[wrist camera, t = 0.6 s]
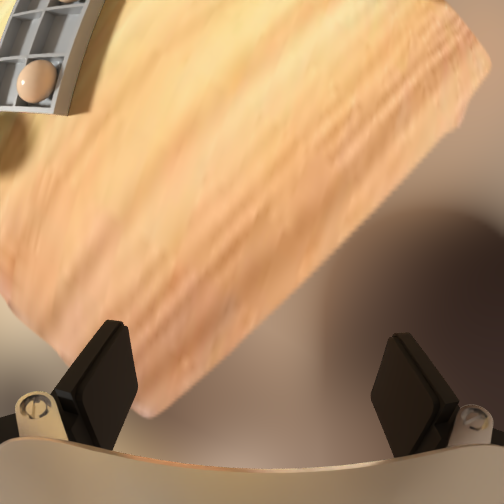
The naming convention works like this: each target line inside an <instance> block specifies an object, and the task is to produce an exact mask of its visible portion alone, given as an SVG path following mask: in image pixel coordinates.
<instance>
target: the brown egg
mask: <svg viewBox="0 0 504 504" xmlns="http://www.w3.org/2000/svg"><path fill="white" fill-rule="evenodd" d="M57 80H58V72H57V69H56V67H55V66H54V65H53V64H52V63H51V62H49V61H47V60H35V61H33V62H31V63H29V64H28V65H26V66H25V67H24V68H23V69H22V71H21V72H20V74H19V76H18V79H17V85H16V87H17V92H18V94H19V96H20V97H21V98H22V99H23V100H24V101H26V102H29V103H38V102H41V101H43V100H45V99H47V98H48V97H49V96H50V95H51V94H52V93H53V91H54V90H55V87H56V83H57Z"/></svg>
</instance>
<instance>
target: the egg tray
mask: <svg viewBox="0 0 504 504" xmlns="http://www.w3.org/2000/svg"><path fill="white" fill-rule="evenodd" d="M104 2H105V0H79V1H77V2H74V3H64V2H61V1H59V0H17V1H16V3H15V5H14V8H13V10H12V12H11V15H10V17H9V19H8V22H7V24H6V27H5V30H4V32H3V35H2V38H1V41H0V112H22V113H38V114H51V115H62V116H68V112H69V108H70V103H71V99H72V96H73V92H74V88H75V84H76V81H77V77H78V74H79V71H80V67H81V64H82V61H83V58H84V55H85V52H86V49H87V46H88V43H89V40H90V37H91V35H92V32H93V29H94V27H95V24H96V21H97V19H98V16H99V14H100V12H101V9H102V7H103V4H104ZM35 60H47V61H49V62H51V63H52V64H53V65H54V66H55V67H56V69H57V72H58V80H57V83H56V87H55V90H54V91H53V93H52V94H51V95H50V96H49V97H48V98H47V99H45V100H43V101H41V102H38V103H29V102H26V101H24V100H23V99H22V98H21V97H20V96H19V94H18V92H17V87H16V85H17V79H18V76H19V74H20V72H21V71H22V69H23V68H24V67H25V66H26V65H28V64H29V63H31V62H33V61H35Z"/></svg>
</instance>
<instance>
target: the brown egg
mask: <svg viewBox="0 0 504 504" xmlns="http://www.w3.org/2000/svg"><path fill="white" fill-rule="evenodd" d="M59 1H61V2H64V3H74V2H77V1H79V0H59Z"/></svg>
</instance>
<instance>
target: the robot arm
mask: <svg viewBox="0 0 504 504" xmlns="http://www.w3.org/2000/svg"><path fill="white" fill-rule="evenodd" d="M137 390H138V382H137V377H136V372H135V366H134V361H133V355H132V349H131V343H130V337H129V330H128V327H127V326H124V324H123V322H122V321H114V320H106V321H105V322H104V324H103V325H102V326H101V327H100V329H99V330H98V331H97V333H96V334H95V335H94V336H93V338H92V339H91V340H90V342H89V343H88V344H87V345H86V347H85V348H84V349H83V351H82V352H81V353H80V355H79V356H78V357H77V359H76V360H75V361H74V363H73V364H72V365H71V367H70V368H69V369H68V371H67V372H66V374H65V375H64V376H63V377H62V379H61V380H60V382H59V383H58V384H57V386H56V387H55V388H54V390H53V391H52V393H51V394H48V393H46V392H42V391H35V392H30V393H27V394H25V395H24V396H22V397H21V398H20V399H19V400H18V402H17V404H16V407H15V412H16V413H15V414H12V415H8V416H5V417H1V418H0V504H504V432H502V431H499V430H496V429H494V428H493V419H492V417H491V415H490V414H489V412H488V411H487V410H485V409H484V408H482V407H480V406H476V405H466V406H463V407H462V408H460V407H459V406H458V403H459V400H458V398H457V397H456V395H455V394H454V393H453V391H452V390H451V388H450V387H449V385H448V384H447V382H446V381H445V380H444V378H443V377H442V376H441V374H440V373H439V371H438V370H437V369H436V367H435V366H434V365H433V363H432V362H431V361H430V359H429V358H428V356H427V355H426V354H425V352H424V351H423V350H422V348H421V347H420V346H419V344H418V343H417V342H416V340H415V339H414V338H413V337H412V335H411V334H410V333H395V334H393V336H392V337H390V338H389V339H388V342H387V345H386V348H385V352H384V355H383V358H382V361H381V365H380V368H379V371H378V374H377V377H376V380H375V383H374V386H373V389H372V392H371V401H372V403H373V406H374V408H375V410H376V413H377V415H378V418H379V420H380V423H381V425H382V428H383V430H384V433H385V435H386V438H387V440H388V443H389V445H390V448H391V450H392V453H393V455H394V458H392V459H387V460H380V461H374V462H366V463H358V464H350V465H340V466H330V467H316V468H294V469H250V468H229V467H214V466H203V465H194V464H185V463H178V462H170V461H163V460H157V459H152V458H146V457H141V456H135V455H130V454H125V453H120V452H115V451H112V450H113V447H114V445H115V443H116V440H117V437H118V435H119V433H120V431H121V428H122V426H123V424H124V421H125V419H126V416H127V414H128V412H129V409H130V407H131V405H132V402H133V400H134V398H135V396H136V393H137Z"/></svg>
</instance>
